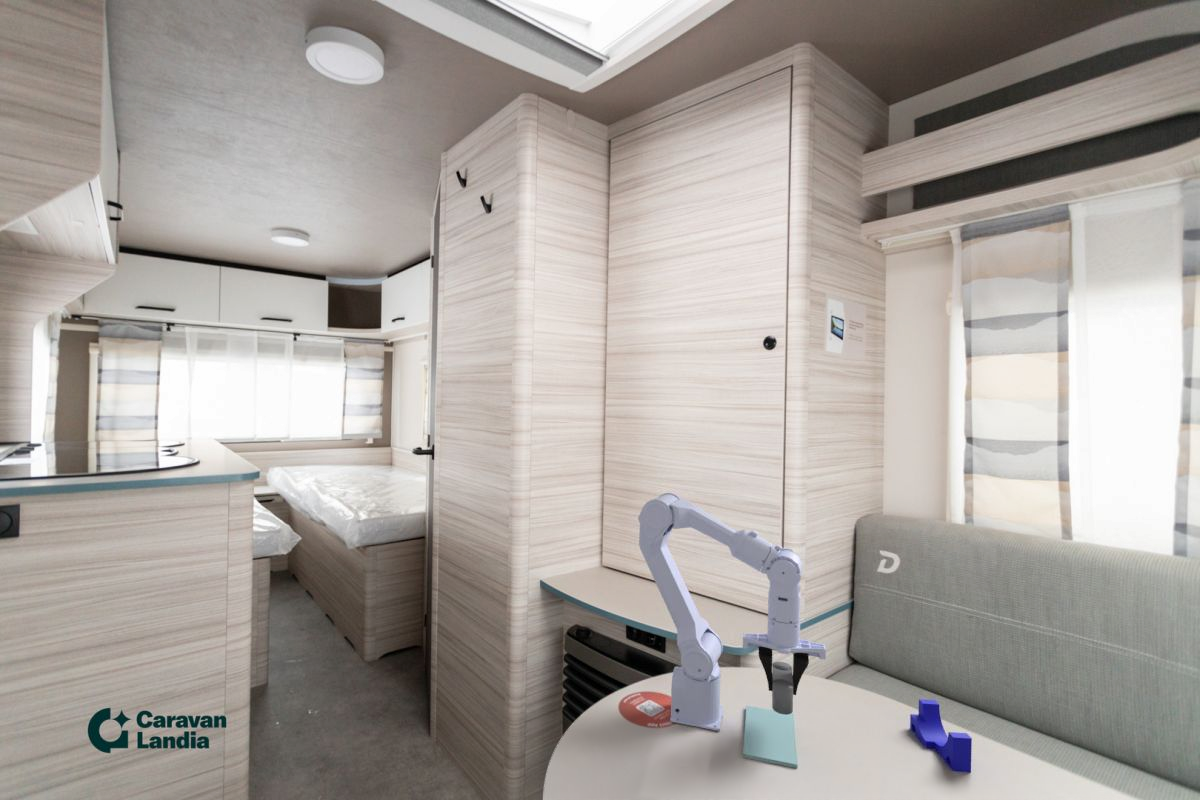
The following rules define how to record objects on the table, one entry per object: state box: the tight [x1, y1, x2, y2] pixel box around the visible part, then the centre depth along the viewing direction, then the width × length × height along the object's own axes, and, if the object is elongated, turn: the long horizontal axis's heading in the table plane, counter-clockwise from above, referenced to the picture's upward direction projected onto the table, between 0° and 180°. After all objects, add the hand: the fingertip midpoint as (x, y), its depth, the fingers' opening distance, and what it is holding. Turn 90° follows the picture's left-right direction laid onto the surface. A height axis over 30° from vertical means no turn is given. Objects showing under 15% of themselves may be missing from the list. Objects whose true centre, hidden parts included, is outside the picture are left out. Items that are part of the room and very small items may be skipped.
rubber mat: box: [742, 705, 799, 769], centre depth 103 cm, size 9×16×1 cm, turn 163°
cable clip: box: [909, 698, 973, 773], centre depth 101 cm, size 12×4×6 cm, turn 175°
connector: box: [771, 661, 794, 715], centre depth 104 cm, size 4×12×4 cm, turn 163°
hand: (782, 690), depth 103 cm, fingers closed on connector, 3 cm apart
